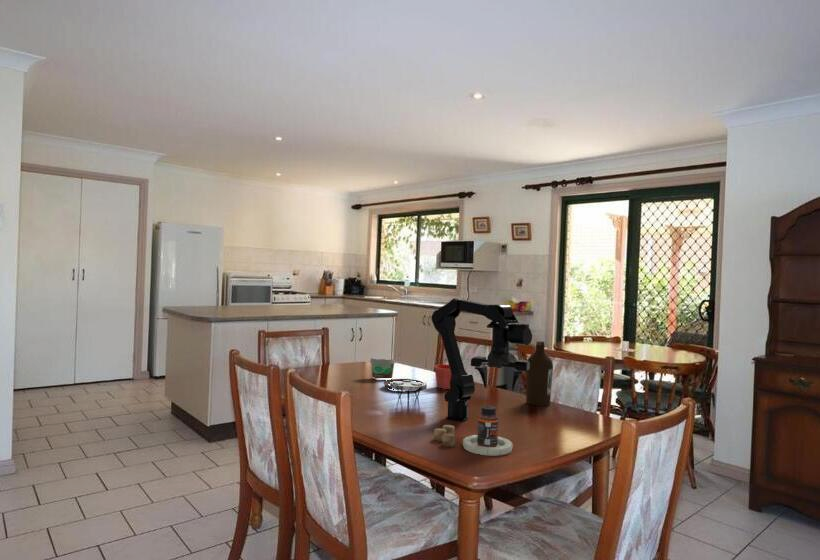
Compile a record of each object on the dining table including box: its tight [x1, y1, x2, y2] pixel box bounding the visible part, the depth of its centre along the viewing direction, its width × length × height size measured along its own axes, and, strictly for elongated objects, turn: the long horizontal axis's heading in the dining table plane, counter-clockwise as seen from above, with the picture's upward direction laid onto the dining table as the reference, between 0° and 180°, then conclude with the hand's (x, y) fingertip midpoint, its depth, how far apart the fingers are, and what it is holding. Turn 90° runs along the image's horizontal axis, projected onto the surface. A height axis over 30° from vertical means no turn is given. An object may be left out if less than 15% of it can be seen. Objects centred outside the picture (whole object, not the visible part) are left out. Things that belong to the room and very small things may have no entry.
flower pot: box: [434, 364, 451, 390], centre depth 245 cm, size 11×11×10 cm
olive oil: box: [525, 340, 554, 407], centre depth 221 cm, size 11×11×25 cm
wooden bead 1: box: [433, 427, 446, 442], centre depth 167 cm, size 4×4×3 cm
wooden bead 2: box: [442, 424, 455, 435], centre depth 171 cm, size 4×4×3 cm
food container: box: [369, 356, 396, 379], centre depth 259 cm, size 12×6×10 cm, turn 81°
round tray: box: [462, 434, 513, 457], centre depth 161 cm, size 14×14×2 cm
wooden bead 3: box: [442, 433, 456, 448], centre depth 162 cm, size 4×4×3 cm
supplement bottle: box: [477, 405, 499, 447], centre depth 161 cm, size 6×6×11 cm
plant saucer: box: [382, 378, 425, 390], centre depth 240 cm, size 18×18×3 cm
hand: (499, 389), depth 181 cm, fingers open, 9 cm apart
